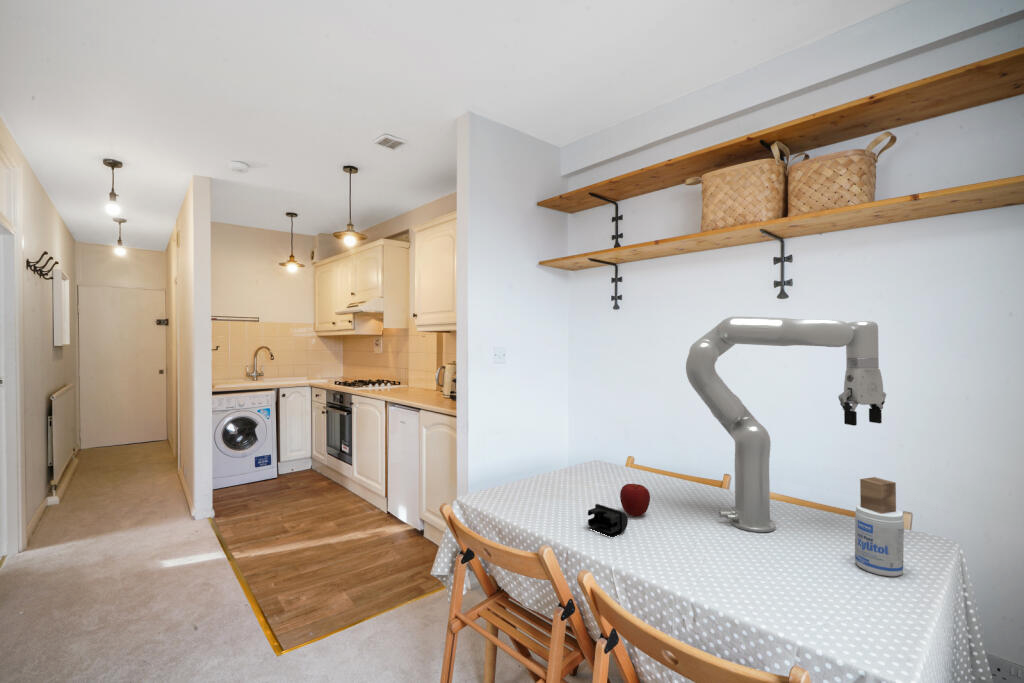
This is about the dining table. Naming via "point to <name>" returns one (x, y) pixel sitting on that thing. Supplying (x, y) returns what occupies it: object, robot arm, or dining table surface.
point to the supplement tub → (879, 541)
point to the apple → (634, 499)
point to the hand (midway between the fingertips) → (863, 423)
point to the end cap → (607, 520)
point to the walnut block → (878, 495)
